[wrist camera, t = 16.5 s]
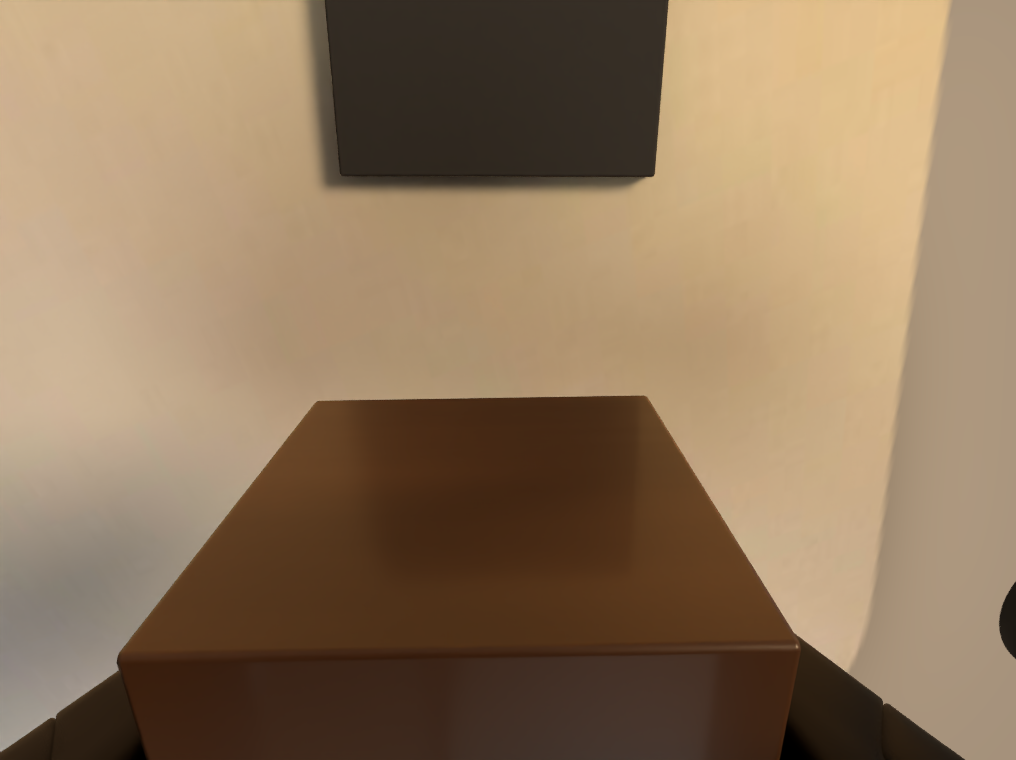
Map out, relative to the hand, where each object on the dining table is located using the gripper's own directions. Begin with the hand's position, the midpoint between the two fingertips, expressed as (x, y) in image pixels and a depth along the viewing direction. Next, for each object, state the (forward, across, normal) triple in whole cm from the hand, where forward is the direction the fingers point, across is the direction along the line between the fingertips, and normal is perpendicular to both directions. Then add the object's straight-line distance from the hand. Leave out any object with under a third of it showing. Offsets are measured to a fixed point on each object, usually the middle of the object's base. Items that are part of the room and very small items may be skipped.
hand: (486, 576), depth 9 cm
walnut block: (+1, 0, 0) cm, 1 cm away
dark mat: (+11, 0, -9) cm, 15 cm away
